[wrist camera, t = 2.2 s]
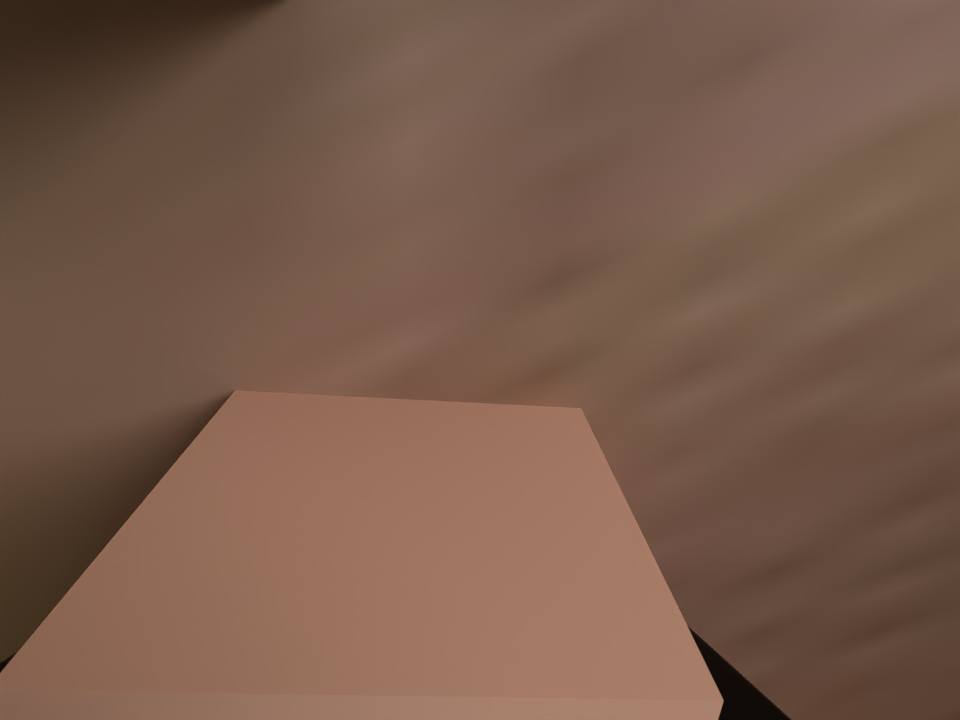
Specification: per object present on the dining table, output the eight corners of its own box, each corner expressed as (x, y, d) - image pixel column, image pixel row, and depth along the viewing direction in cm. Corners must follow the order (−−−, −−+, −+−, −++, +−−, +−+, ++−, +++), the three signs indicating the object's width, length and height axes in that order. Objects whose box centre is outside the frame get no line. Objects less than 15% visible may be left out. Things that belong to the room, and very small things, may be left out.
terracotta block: (579, 406, 9) (724, 700, 4) (541, 660, 11) (614, 1067, 6) (236, 387, 9) (-15, 690, 4) (254, 654, 10) (94, 1085, 6)
